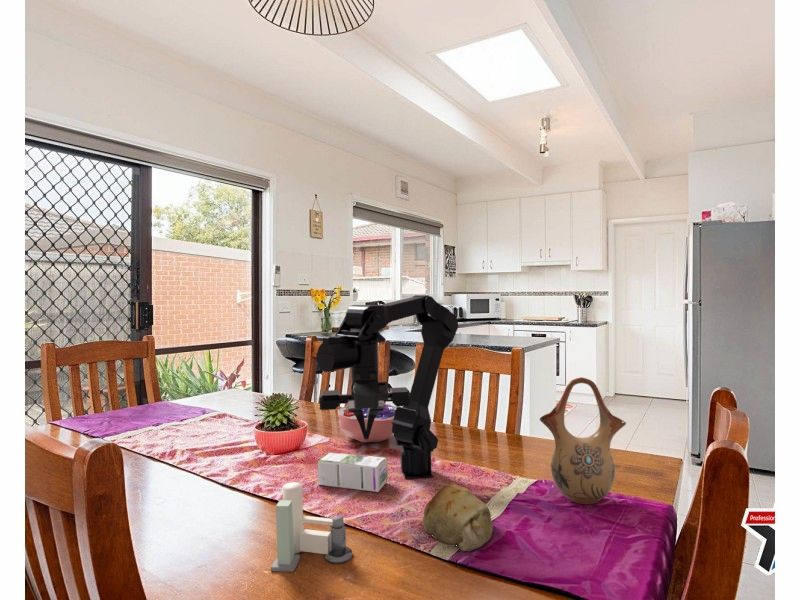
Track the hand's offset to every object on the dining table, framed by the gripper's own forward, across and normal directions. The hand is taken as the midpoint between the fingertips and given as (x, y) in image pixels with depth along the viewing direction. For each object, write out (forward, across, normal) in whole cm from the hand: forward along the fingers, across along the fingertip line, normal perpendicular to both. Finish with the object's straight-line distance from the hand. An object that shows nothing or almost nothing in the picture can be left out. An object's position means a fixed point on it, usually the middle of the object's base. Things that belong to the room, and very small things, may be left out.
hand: (366, 438), depth 102 cm
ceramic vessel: (+12, +43, -9) cm, 46 cm away
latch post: (+12, -14, -23) cm, 30 cm away
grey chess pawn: (+12, -6, -22) cm, 26 cm away
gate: (+12, -10, -21) cm, 26 cm away
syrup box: (+9, -10, +9) cm, 16 cm away
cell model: (+12, +2, +36) cm, 38 cm away
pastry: (+12, +16, -17) cm, 26 cm away
